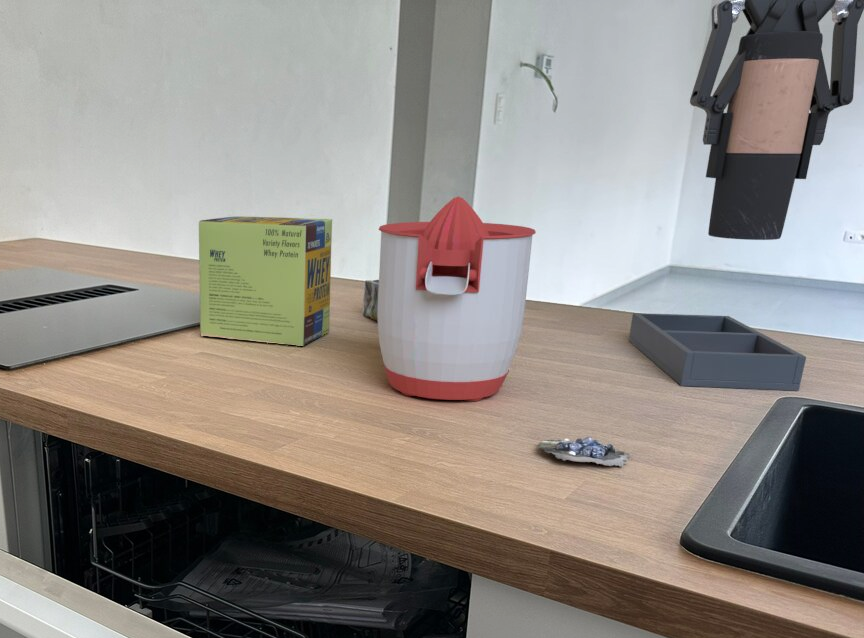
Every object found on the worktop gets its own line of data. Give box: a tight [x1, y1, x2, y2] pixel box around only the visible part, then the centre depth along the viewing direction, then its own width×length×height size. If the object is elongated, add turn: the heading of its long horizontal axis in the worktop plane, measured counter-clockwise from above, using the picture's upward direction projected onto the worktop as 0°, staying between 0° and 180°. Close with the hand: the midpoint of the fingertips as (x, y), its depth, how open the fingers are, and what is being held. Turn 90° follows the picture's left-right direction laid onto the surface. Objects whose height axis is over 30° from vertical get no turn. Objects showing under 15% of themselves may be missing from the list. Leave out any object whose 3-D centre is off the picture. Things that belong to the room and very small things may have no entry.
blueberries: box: [536, 436, 631, 468], centre depth 73 cm, size 7×8×2 cm
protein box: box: [198, 215, 333, 347], centre depth 116 cm, size 10×15×16 cm
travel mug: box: [707, 31, 824, 241], centre depth 91 cm, size 8×8×20 cm
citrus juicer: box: [377, 196, 537, 402], centre depth 89 cm, size 16×17×20 cm
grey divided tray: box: [628, 312, 807, 392], centre depth 104 cm, size 12×23×4 cm, turn 171°
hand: (754, 177), depth 92 cm, fingers closed on travel mug, 8 cm apart
